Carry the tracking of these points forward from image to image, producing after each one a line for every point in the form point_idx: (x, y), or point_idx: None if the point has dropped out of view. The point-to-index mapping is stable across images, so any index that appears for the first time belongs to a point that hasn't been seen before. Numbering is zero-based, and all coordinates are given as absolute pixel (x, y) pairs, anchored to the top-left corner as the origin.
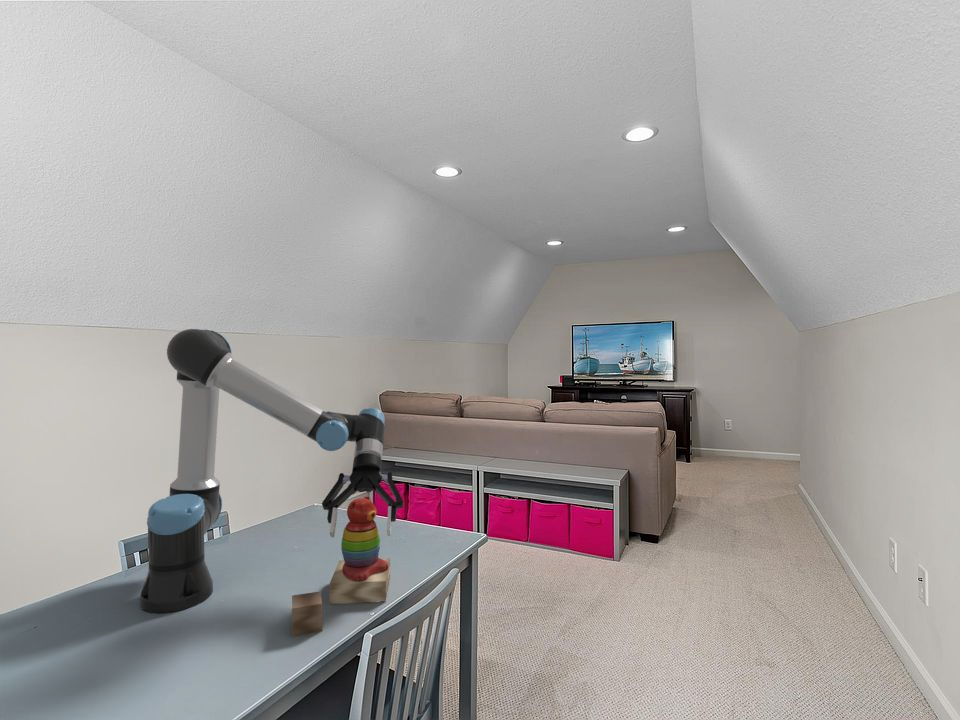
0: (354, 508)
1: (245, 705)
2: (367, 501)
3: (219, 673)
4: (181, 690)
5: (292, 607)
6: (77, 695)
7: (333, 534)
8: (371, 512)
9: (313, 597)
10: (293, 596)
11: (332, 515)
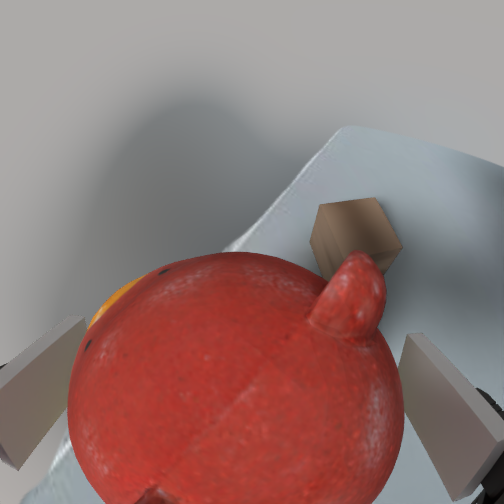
0: (303, 268)
1: (348, 128)
2: (115, 334)
3: (409, 173)
4: (425, 158)
5: (376, 200)
6: (497, 175)
7: (400, 363)
8: (123, 287)
9: (350, 231)
10: (397, 243)
11: (476, 392)
